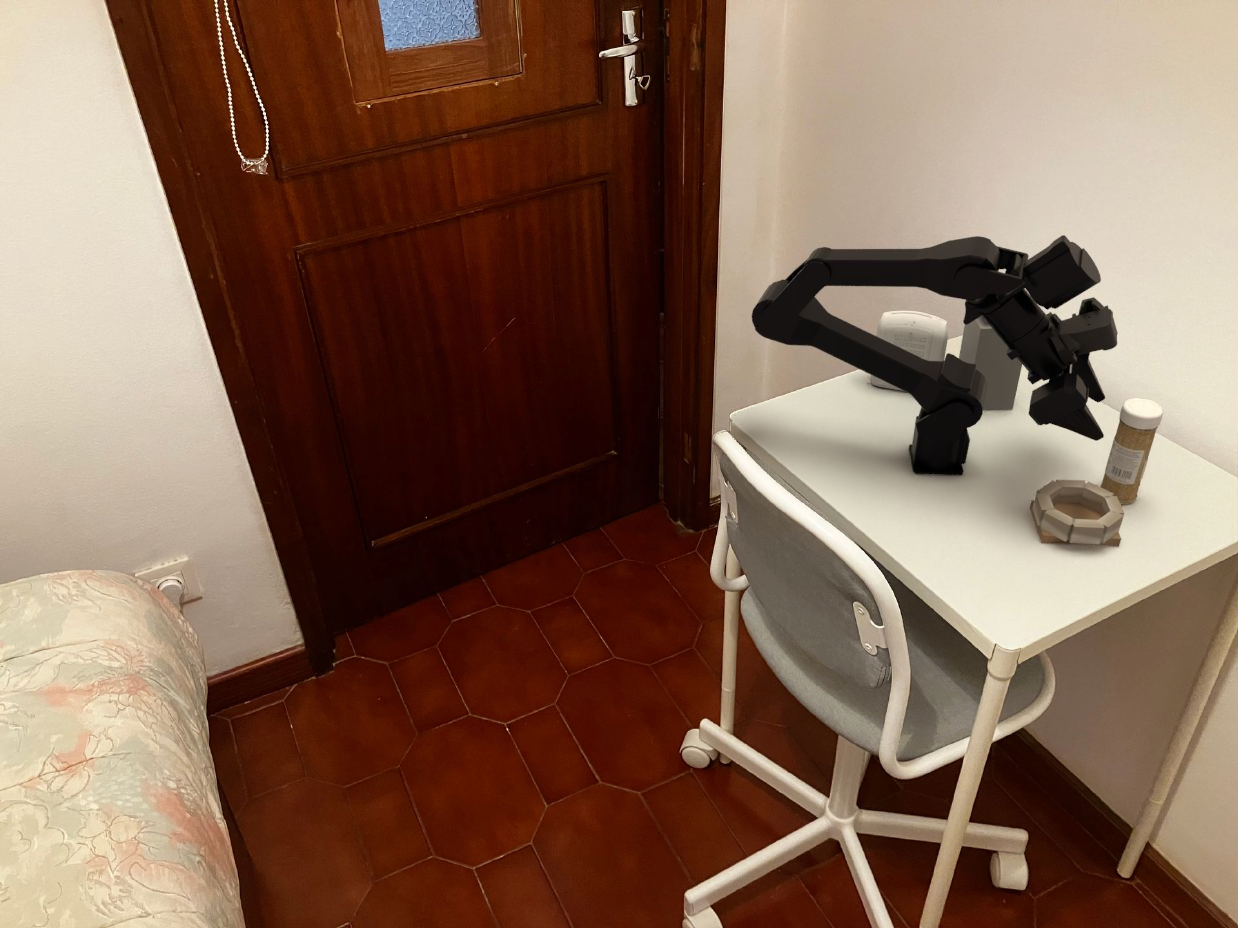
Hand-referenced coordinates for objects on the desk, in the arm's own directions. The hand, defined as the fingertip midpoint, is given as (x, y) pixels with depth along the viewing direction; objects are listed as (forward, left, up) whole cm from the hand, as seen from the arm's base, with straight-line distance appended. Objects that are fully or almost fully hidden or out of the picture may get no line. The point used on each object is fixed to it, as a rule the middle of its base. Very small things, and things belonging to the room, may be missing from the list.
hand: (1101, 418), depth 126 cm
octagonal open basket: (-3, -8, -11) cm, 14 cm away
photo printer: (-20, +25, -11) cm, 34 cm away
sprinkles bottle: (+4, -1, -11) cm, 12 cm away
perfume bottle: (-9, +22, -11) cm, 26 cm away
